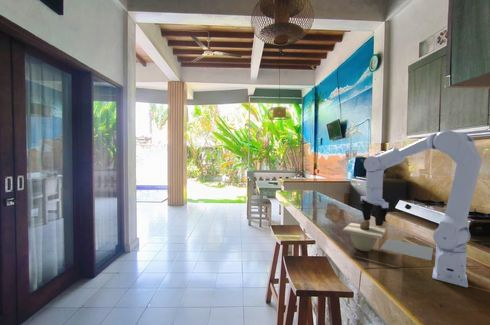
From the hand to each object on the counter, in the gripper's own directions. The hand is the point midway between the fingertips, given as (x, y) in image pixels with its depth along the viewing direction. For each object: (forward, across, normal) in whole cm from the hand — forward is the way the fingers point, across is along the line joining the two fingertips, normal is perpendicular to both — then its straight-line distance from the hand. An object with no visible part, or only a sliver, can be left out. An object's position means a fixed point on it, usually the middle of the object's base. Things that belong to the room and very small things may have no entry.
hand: (372, 222), depth 98 cm
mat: (+10, -1, -14) cm, 18 cm away
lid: (+3, 0, +3) cm, 4 cm away
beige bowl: (+11, 0, +3) cm, 11 cm away
